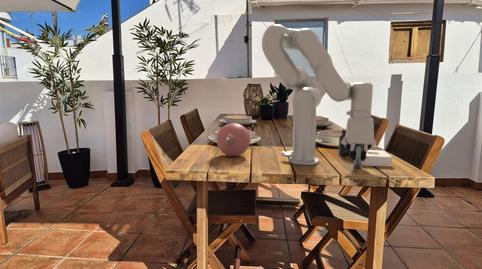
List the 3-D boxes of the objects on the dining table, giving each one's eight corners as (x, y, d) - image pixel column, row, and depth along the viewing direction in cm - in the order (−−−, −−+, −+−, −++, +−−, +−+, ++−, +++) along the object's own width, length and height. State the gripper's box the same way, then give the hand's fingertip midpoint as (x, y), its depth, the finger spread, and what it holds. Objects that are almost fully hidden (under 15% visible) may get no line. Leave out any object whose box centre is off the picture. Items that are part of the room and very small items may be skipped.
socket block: (360, 165, 130) (360, 155, 129) (355, 158, 142) (355, 149, 141) (391, 166, 128) (392, 157, 127) (383, 159, 140) (384, 150, 139)
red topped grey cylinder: (352, 169, 125) (353, 139, 123) (350, 165, 129) (351, 137, 127) (364, 169, 124) (366, 139, 122) (361, 166, 128) (363, 137, 126)
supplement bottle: (356, 154, 148) (357, 129, 146) (349, 157, 143) (351, 131, 141) (342, 152, 153) (343, 128, 151) (335, 155, 148) (337, 129, 146)
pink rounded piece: (208, 161, 137) (207, 126, 134) (223, 151, 156) (222, 120, 153) (242, 163, 132) (242, 127, 130) (253, 153, 151) (253, 121, 149)
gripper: (339, 115, 121) (337, 161, 124) (385, 116, 118) (381, 163, 121) (337, 113, 128) (335, 157, 131) (380, 113, 125) (377, 158, 128)
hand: (357, 159), depth 126 cm, fingers open, 3 cm apart
